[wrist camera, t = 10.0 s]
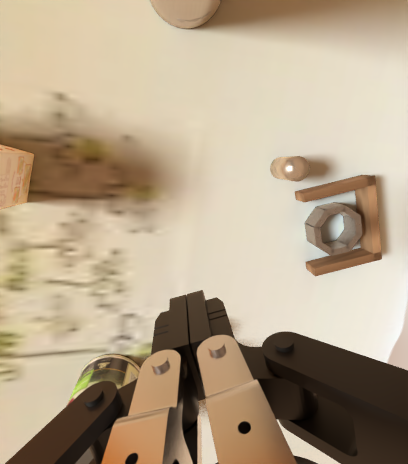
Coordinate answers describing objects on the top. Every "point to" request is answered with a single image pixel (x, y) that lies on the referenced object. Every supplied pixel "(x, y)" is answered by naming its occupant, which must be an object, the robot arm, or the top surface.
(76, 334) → the top surface
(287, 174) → the beige rounded cylinder
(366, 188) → the groove block
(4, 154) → the coffeecake box
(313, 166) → the top surface
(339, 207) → the metal ring
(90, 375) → the coffee can
